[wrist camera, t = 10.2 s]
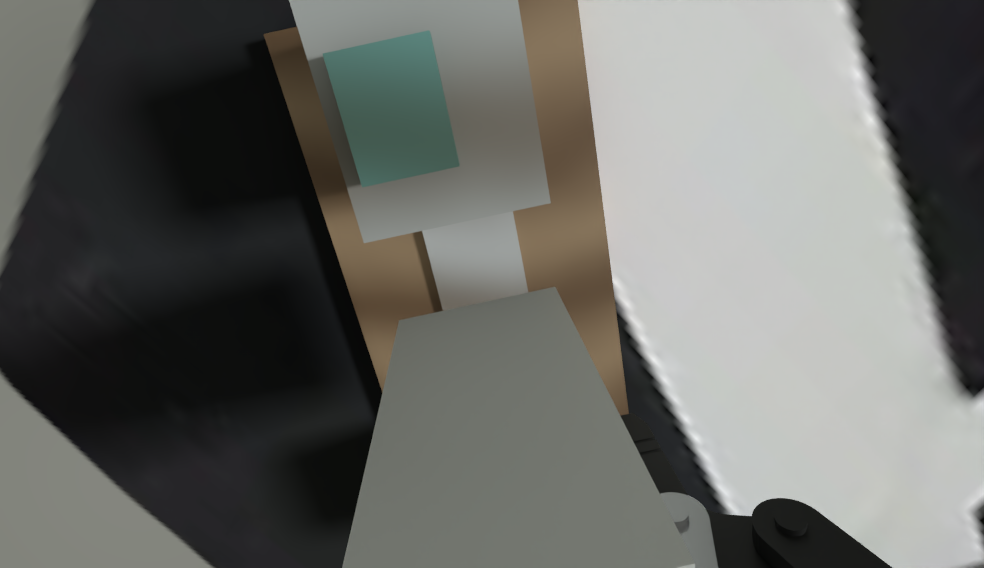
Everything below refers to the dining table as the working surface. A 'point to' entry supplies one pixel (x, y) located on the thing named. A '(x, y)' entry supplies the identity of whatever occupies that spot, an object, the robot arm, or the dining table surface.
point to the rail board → (541, 226)
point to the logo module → (504, 452)
